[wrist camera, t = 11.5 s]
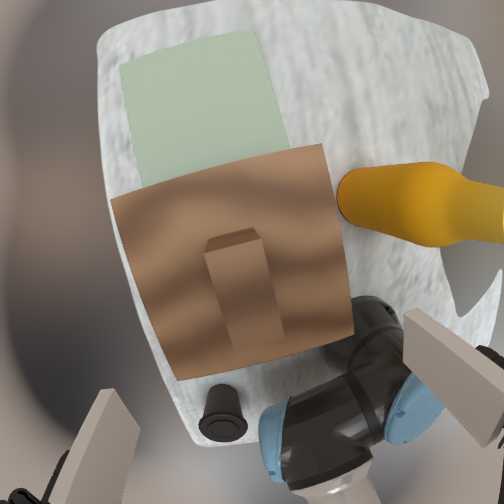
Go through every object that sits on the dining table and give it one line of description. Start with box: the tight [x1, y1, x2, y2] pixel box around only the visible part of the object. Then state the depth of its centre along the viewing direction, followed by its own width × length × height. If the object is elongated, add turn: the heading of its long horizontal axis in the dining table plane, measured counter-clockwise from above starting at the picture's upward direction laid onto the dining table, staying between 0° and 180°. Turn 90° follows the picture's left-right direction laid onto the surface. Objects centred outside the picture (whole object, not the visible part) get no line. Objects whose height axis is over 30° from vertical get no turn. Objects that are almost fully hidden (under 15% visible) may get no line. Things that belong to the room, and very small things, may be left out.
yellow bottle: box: [337, 162, 504, 247], centre depth 28 cm, size 9×9×29 cm
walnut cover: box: [110, 143, 354, 381], centre depth 24 cm, size 20×20×8 cm
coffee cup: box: [198, 384, 248, 442], centre depth 43 cm, size 8×8×10 cm
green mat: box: [119, 29, 290, 188], centre depth 36 cm, size 22×22×1 cm
